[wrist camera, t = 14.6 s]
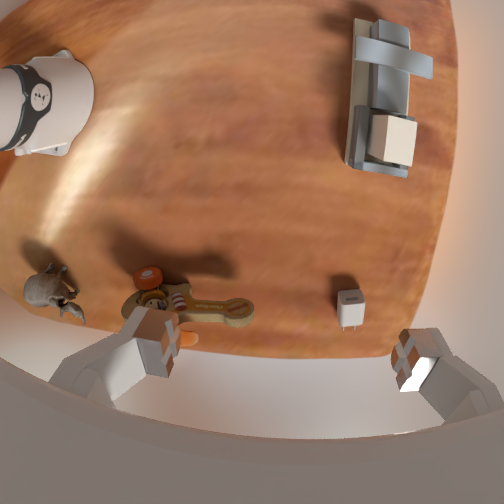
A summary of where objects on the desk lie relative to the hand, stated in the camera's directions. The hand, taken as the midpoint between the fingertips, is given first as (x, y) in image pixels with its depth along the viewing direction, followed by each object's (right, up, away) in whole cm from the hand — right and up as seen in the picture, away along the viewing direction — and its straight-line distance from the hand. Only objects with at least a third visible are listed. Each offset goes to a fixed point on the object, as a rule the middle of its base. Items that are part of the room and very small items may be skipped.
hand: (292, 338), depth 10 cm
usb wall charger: (+15, -6, +37) cm, 40 cm away
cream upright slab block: (+15, +18, +23) cm, 33 cm away
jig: (+15, +23, +22) cm, 35 cm away
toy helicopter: (-12, -3, +38) cm, 40 cm away
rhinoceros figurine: (-40, -3, +41) cm, 57 cm away
